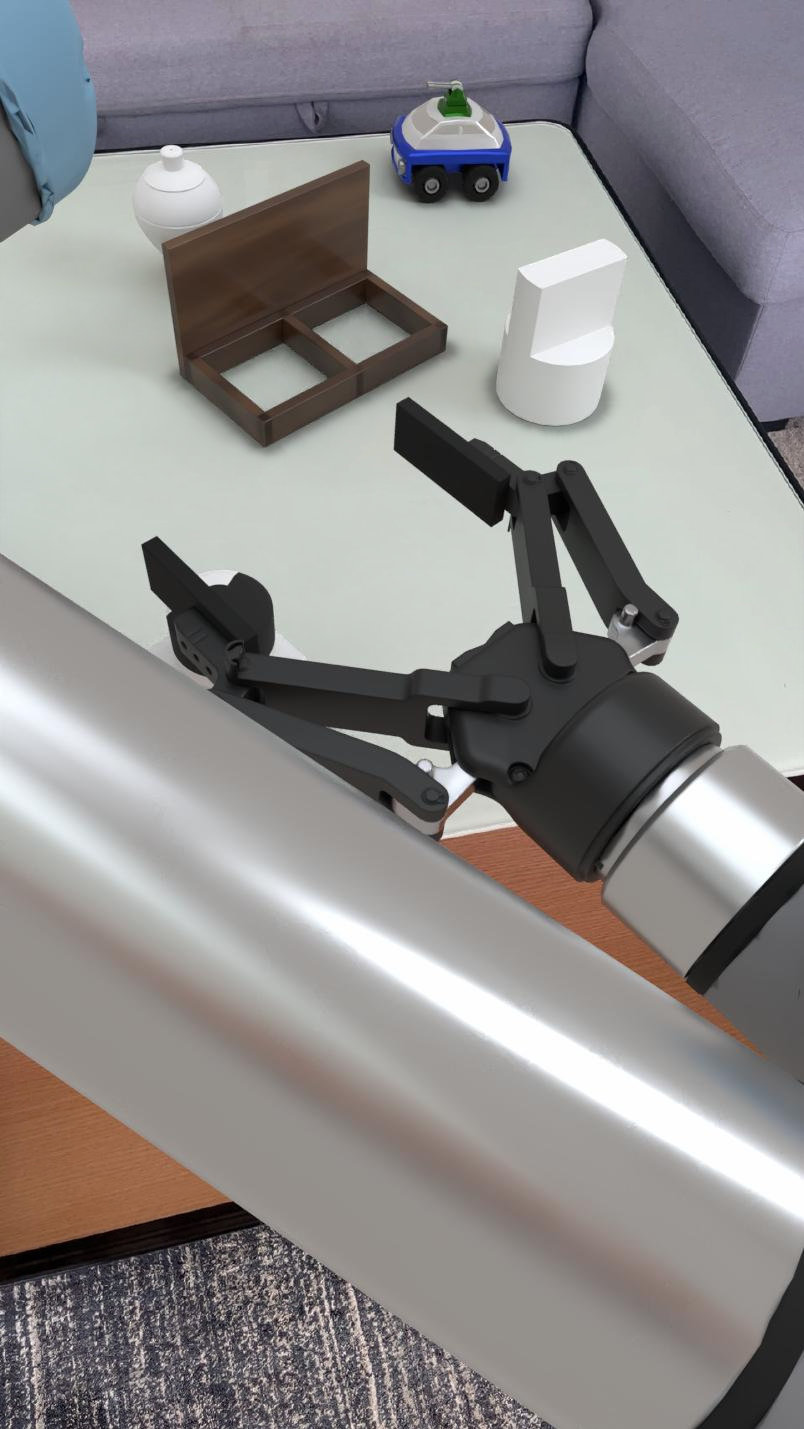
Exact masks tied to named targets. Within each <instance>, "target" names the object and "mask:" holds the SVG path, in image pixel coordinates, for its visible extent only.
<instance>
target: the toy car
mask: <svg viewBox="0 0 804 1429" xmlns="http://www.w3.org/2000/svg"><path fill="white" fill-rule="evenodd" d="M425 85H426V87H427V90H435V89H439V90H442V89H444V92H443V96H437V97H432V98H431V99H429V100H427V101H425V102H424V103H423V104H420V105H419V106H417V107H416V108H414V109H412V110H411V111H410V113H408V114H399V115H397V116H396V118H395V120H394V122H393V125H392V127H390V129H389V142H390V145H392V147H391V150H390V158H391V163H392V167H393V169H394V171H395V173H396V174H397V175H398V177H399V178H400V179H401V180H402V181H403V183H404V184H411V181H412V184H413V188H414V191H415V192H414V193H415V195H416V196H417V197H418V199H419V200H420V201H423V202H425V203H435V202H438V201H440V200H441V199H443V198H444V197H445V196H446V195H447V192H448V191H449V187H450V180H449V178H448V177H449V176H448V174H450V173H453V174H454V173H456V174H460V176H461V181H462V185H463V187H464V191H465V193H466V195H467V197H468V198H469V199H470V200H472V201H475V202H484V201H487V200H490V199H491V198H492V197H493V196H495V195H496V193H497V192H498V190H499V186H500V179H501V182H508V177H509V172H510V160H511V156H512V151H513V145H512V142H511V137H510V133H509V132H508V130H507V129H506V126H505V124H503V123H502V121H500V120H499V119H498V117H497V116H496V115H495V114H494V113H490V112H488V111H487V110H486V109H485V108H483V107H482V106H480V105H479V104H478V102H476V101H474V100H473V99H471V98H470V97H467V94H466V92H465V91H464V86H463V84H462V82H461V81H460V80H459V79H457V78H454V79H450V80H449V82H445V81H434V80H426V84H425ZM497 170H498V172H497ZM498 173H499V174H498ZM499 177H500V179H499Z"/></svg>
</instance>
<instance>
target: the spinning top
mask: <svg viewBox="0 0 804 1429" xmlns="http://www.w3.org/2000/svg"><path fill="white" fill-rule="evenodd" d="M159 155H160V160H158V161H155V162H154V163H152V164H150V165H148V166H147V167H146V168H145V170H144V171H143V173H142V175H140V177H139V179H138V180H137V182H136V184H135V186H134V190H133V193H132V209H133V210H132V211H133V212H134V217H135V220H136V222H137V225H138V226H139V227H140V229H141V231H142V233H143V234H144V235H145V236H146V238H147V239H148V241H149V242H150V243H151V245H153V247H154V248H155V249H157V251H158V252H159V253H160V254H161V255H162V256H163V252H162V245H161V244H162V243H163V242H166V241H168V240H171V239H173V238H175V237H178V236H180V235H183V234H185V233H187V232H190V231H192V230H195V229H197V228H200V227H202V226H204V225H207V224H209V223H212V222H214V221H216V220H219V219H221V218H223V216H224V215H223V214H224V201H223V197H222V193H221V190H220V188H219V186H218V184H217V183H216V182H215V180H214V179H213V177H212V176H211V175H210V174H209V173H208V172H207V171H206V170H204V168H203V167H202V166H201V165H200V164H198V163H196V162H194V161H191V160H188V159H186V158H185V159H184V150H183V148H182V147H181V146H179V145H174V144H169V145H168V144H167V145H165V146H163V147H162V148H160V150H159Z"/></svg>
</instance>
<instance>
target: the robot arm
mask: <svg viewBox="0 0 804 1429" xmlns="http://www.w3.org/2000/svg"><path fill="white" fill-rule="evenodd" d="M84 41H85V40H84V38H83V35H82V33H81V30H80V25H79V23H78V21H77V18H76V15H75V12H74V10H73V7H72V5H71V2H70V1H69V0H0V244H1V243H3V242H4V241H6V240H7V239H9V238H10V237H12V236H13V235H15V234H16V233H17V232H19V231H21V230H22V229H23V228H25V227H26V226H27V225H31V226H33V227H36V226H39V225H41V224H44V223H45V222H48V220H49V219H50V218H51V217H52V215H53V213H54V209H55V206H56V205H57V204H58V203H60V202H61V201H63V200H64V199H66V197H68V196H69V195H70V194H72V193H73V192H74V191H75V190H76V189H77V188H78V187H79V185H81V183H82V182H83V180H84V179H85V177H86V175H87V174H88V172H89V169H90V167H91V164H92V161H93V159H94V158H93V157H94V154H95V150H96V149H95V148H96V143H97V136H98V134H97V133H98V112H97V110H98V108H97V98H96V91H95V86H94V83H93V78H92V76H91V74H90V71H89V69H88V67H87V64H86V63H87V62H86V60H85V57H84V48H85V46H84V45H85V44H84ZM393 451H394V452H395V453H396V454H398V455H399V456H400V457H402V458H403V459H404V460H405V461H407V463H409V464H410V465H412V466H413V467H414V468H416V470H418V471H419V472H420V473H422V474H423V475H424V476H425V477H427V478H428V479H429V480H430V481H431V482H433V483H434V484H435V485H437V486H438V487H439V488H441V489H442V490H443V491H444V492H446V494H448V495H449V496H451V497H452V498H453V499H454V500H456V501H457V502H458V503H459V504H461V505H462V506H463V507H465V508H466V509H467V510H468V511H470V512H471V513H472V514H473V515H475V516H476V517H477V518H478V519H480V520H481V521H482V522H483V523H485V525H487V526H488V527H490V528H493V527H494V526H496V525H498V524H499V523H501V522H502V521H504V517H505V511H506V512H507V513H508V514H509V520H508V525H507V533H511V542H512V549H513V559H514V565H515V566H514V567H515V574H516V581H517V589H518V597H519V602H520V603H519V605H520V610H521V611H520V612H521V620H522V622H520V623H515V624H514V623H512V622H511V621H510V620H507V621H506V622H505V623H503V624H502V625H500V626H499V627H498V628H496V629H495V630H494V631H493V632H492V634H491V635H490V636H489V638H488V639H487V640H486V641H485V643H483V644H481V645H478V646H475V647H473V648H470V649H468V650H465V651H463V653H461V654H460V655H458V656H457V657H456V658H454V659H453V660H451V663H450V669H449V671H448V670H447V671H446V670H438V669H432V668H417V669H415V670H413V671H412V672H410V673H400V672H395V671H386V670H377V669H371V668H364V667H357V666H349V665H341V664H334V663H328V662H327V663H326V662H320V661H313V660H308V661H306V660H298V659H291V658H284V657H276V656H269V655H262V654H260V650H259V639H258V633H257V632H256V631H255V630H254V629H253V628H252V627H251V626H250V625H249V624H248V623H247V622H246V621H245V620H244V619H242V618H241V617H240V616H239V615H238V614H237V613H236V612H235V611H234V610H233V609H232V608H231V607H230V606H229V605H228V604H227V603H226V602H225V601H224V600H223V599H222V598H221V597H220V596H219V595H218V594H217V593H216V592H215V591H214V590H213V589H211V588H210V587H209V586H208V585H207V584H206V583H205V582H204V581H203V580H202V579H201V578H200V577H199V576H198V575H197V573H196V572H195V571H194V570H193V568H191V567H190V566H189V565H188V564H187V563H186V562H185V561H184V560H183V559H182V558H181V557H180V556H178V554H177V553H175V551H173V549H171V547H169V545H168V544H166V543H165V542H164V541H163V540H162V539H161V538H160V537H159V536H158V535H156V536H155V535H154V537H152V538H150V539H148V540H146V541H144V542H142V543H141V544H140V547H141V551H142V555H143V560H144V566H145V570H146V575H147V579H148V583H149V588H150V591H151V592H152V593H153V594H154V595H155V596H156V597H157V598H158V599H159V600H160V601H161V602H162V603H163V604H164V605H165V606H166V608H167V607H168V608H169V609H170V610H171V611H172V612H173V613H174V614H175V615H176V617H174V618H173V619H174V624H175V629H176V635H177V640H178V643H179V646H180V649H181V652H182V653H183V654H184V655H185V656H186V657H187V658H188V659H190V661H191V662H192V663H193V664H194V665H196V667H197V668H198V669H199V670H200V671H201V672H202V673H203V674H204V675H205V676H206V677H207V678H208V679H209V680H210V681H211V682H212V683H213V684H214V686H213V687H212V688H211V689H205V688H204V687H202V686H201V685H199V684H198V683H196V682H195V681H193V680H192V679H190V678H188V677H187V676H185V675H184V674H182V673H181V672H179V671H178V670H176V669H175V668H173V667H172V666H170V665H169V664H167V663H166V662H164V661H163V660H161V659H160V658H158V657H157V656H155V655H154V654H152V653H151V652H149V651H148V650H147V649H146V648H144V647H143V646H142V645H140V644H139V643H137V642H136V641H134V640H132V639H131V638H129V637H128V636H127V635H125V634H124V633H122V632H120V631H119V630H117V629H116V628H115V627H113V626H112V625H110V624H108V623H107V622H105V621H104V620H102V619H101V618H99V617H98V616H96V615H95V614H93V613H92V612H91V611H90V610H89V611H88V609H86V608H84V607H83V606H81V605H79V604H78V603H76V602H75V601H74V600H72V599H71V598H69V597H67V596H66V595H64V594H63V593H61V592H60V591H58V590H57V589H55V588H54V587H52V585H50V584H47V583H46V582H45V581H44V580H42V579H41V578H39V577H37V576H36V575H34V574H33V573H31V572H30V571H28V570H27V569H25V568H24V567H22V566H20V565H19V564H17V563H16V562H15V561H13V560H12V559H10V558H8V557H7V556H6V555H4V554H2V553H1V552H0V1038H1V1039H3V1041H5V1042H6V1043H8V1044H9V1045H11V1046H12V1047H14V1048H15V1049H17V1050H18V1051H19V1052H21V1053H22V1054H24V1055H25V1056H26V1057H28V1058H29V1059H31V1060H32V1061H33V1062H35V1063H37V1064H38V1065H39V1066H41V1067H42V1068H44V1069H45V1070H47V1071H48V1072H49V1073H50V1074H52V1075H53V1076H55V1077H56V1078H58V1079H59V1080H61V1081H63V1082H64V1083H65V1084H66V1085H67V1086H69V1087H71V1088H72V1089H74V1090H75V1091H76V1092H77V1093H79V1094H80V1095H81V1096H83V1097H85V1098H86V1099H87V1100H89V1101H90V1102H92V1103H93V1104H94V1105H96V1106H98V1107H99V1108H101V1110H103V1111H104V1112H106V1113H108V1114H109V1115H110V1116H112V1117H113V1118H114V1119H116V1120H117V1121H119V1122H120V1123H122V1125H124V1126H126V1127H127V1128H129V1129H130V1130H132V1131H133V1132H134V1133H136V1134H137V1135H139V1136H140V1137H141V1138H142V1139H144V1140H146V1141H147V1142H148V1143H150V1144H152V1145H153V1147H156V1148H157V1149H159V1150H160V1151H162V1152H163V1153H164V1154H166V1155H167V1156H168V1157H170V1158H171V1159H173V1160H174V1161H176V1162H177V1163H179V1164H180V1165H181V1166H182V1167H184V1168H185V1169H187V1170H188V1171H190V1172H191V1173H192V1174H194V1175H196V1176H197V1177H198V1178H199V1179H201V1180H202V1181H204V1182H205V1183H207V1184H208V1185H210V1186H211V1187H212V1188H214V1189H215V1190H216V1191H217V1192H220V1193H221V1194H222V1195H224V1196H225V1197H226V1198H228V1199H229V1200H231V1201H232V1202H234V1203H235V1204H237V1205H238V1206H239V1207H241V1208H242V1209H243V1210H245V1211H246V1212H248V1214H251V1215H253V1216H254V1217H255V1218H256V1219H258V1220H259V1221H261V1222H262V1223H264V1224H265V1225H266V1226H268V1227H269V1228H271V1229H272V1230H273V1231H274V1232H276V1233H278V1235H280V1236H282V1237H283V1238H285V1239H286V1240H288V1241H289V1242H290V1243H292V1244H293V1245H294V1246H296V1247H298V1248H299V1249H300V1250H302V1251H303V1252H304V1253H306V1254H307V1255H309V1256H310V1257H312V1258H313V1259H315V1260H316V1261H317V1262H319V1263H320V1264H322V1265H323V1266H325V1267H326V1268H327V1269H328V1270H330V1271H332V1273H334V1274H336V1275H338V1276H339V1277H340V1278H341V1279H342V1280H344V1281H346V1282H347V1283H349V1284H350V1285H352V1286H353V1287H354V1288H356V1289H357V1290H358V1291H360V1292H361V1293H363V1294H364V1295H365V1296H367V1297H368V1298H369V1299H371V1300H372V1301H374V1302H375V1303H377V1304H379V1305H380V1306H382V1308H384V1309H385V1310H387V1311H388V1312H390V1313H391V1314H393V1315H394V1316H396V1317H397V1318H398V1319H400V1320H401V1321H402V1322H404V1323H405V1324H407V1325H408V1326H410V1327H411V1328H412V1329H414V1330H415V1331H416V1332H418V1333H420V1334H421V1335H422V1336H423V1337H426V1338H427V1339H428V1340H429V1341H430V1342H432V1343H434V1344H435V1345H437V1346H438V1347H439V1348H441V1349H442V1350H443V1351H445V1352H447V1353H448V1354H450V1355H451V1356H452V1357H454V1358H455V1359H456V1360H458V1361H459V1362H461V1363H462V1364H463V1365H465V1366H466V1367H468V1368H469V1369H471V1370H472V1371H473V1372H475V1373H477V1375H479V1376H480V1377H482V1378H483V1379H484V1380H486V1381H488V1382H489V1383H490V1384H492V1385H494V1387H496V1388H498V1389H499V1390H501V1391H502V1392H503V1393H504V1394H506V1395H507V1396H509V1397H510V1398H512V1399H513V1400H514V1401H516V1402H518V1403H519V1404H520V1405H522V1406H523V1407H525V1408H526V1409H527V1410H529V1411H530V1412H532V1413H533V1414H534V1415H536V1416H537V1417H538V1418H540V1419H542V1420H543V1421H544V1422H546V1423H547V1424H549V1425H550V1426H552V1427H553V1428H554V1429H804V791H803V790H802V789H801V788H800V787H799V786H797V785H796V784H795V783H794V782H792V781H791V780H790V779H788V778H787V777H786V776H785V775H784V774H783V773H782V772H781V771H779V770H777V769H776V767H774V765H772V764H770V763H769V762H768V761H767V760H766V759H764V758H763V757H762V756H761V755H759V754H758V753H757V752H756V751H755V750H753V749H752V748H751V747H750V746H748V745H747V744H737V745H729V746H727V747H725V748H724V749H723V748H721V745H722V742H723V735H722V733H721V732H720V730H721V728H720V724H719V723H718V722H716V721H715V720H714V719H712V717H710V716H709V715H708V714H706V713H705V712H704V711H703V710H702V709H700V708H699V707H698V706H696V705H695V704H694V703H693V702H692V701H690V700H689V699H688V698H686V697H685V696H684V695H683V694H682V693H680V692H679V691H678V690H676V689H675V688H674V687H673V686H672V685H670V684H669V683H668V682H667V681H666V680H664V679H663V678H662V677H660V675H658V674H656V673H654V672H651V671H638V670H637V669H636V668H635V667H636V666H638V665H640V664H642V665H643V666H647V667H656V666H658V665H660V664H661V663H662V662H663V660H664V658H665V656H666V653H667V651H668V649H669V646H670V644H671V641H672V638H673V636H674V634H675V632H676V629H677V627H678V624H679V622H680V616H679V613H678V612H677V611H676V610H675V609H674V607H672V606H671V605H670V604H669V603H668V602H667V601H666V600H664V598H662V597H661V596H660V595H659V594H658V593H657V592H656V591H655V590H653V588H651V586H649V585H648V583H646V581H645V579H644V577H643V576H642V574H641V572H640V570H639V568H638V567H637V565H636V562H635V560H634V559H633V557H632V554H630V551H629V550H628V548H627V545H626V544H625V542H624V540H623V538H622V537H621V535H620V532H619V531H618V529H617V527H616V525H615V524H614V521H613V520H612V518H611V516H610V514H609V512H608V511H607V509H606V507H605V505H604V503H603V501H602V499H601V497H600V496H599V493H598V492H597V490H596V488H595V486H594V484H593V482H592V480H591V479H590V477H589V475H588V473H587V471H586V470H585V467H584V466H583V465H582V464H581V463H579V462H578V461H576V460H572V459H565V460H561V461H559V463H557V466H556V468H555V469H556V470H553V471H550V472H549V471H548V472H545V473H540V472H539V471H536V470H532V469H528V470H526V469H525V470H524V469H522V468H521V467H520V466H518V465H517V464H515V463H514V462H513V461H512V460H510V459H509V458H507V456H505V455H504V454H501V452H500V451H498V450H497V449H495V448H494V447H493V446H492V445H491V444H489V443H488V442H487V441H484V440H481V439H479V438H476V437H473V438H472V439H470V440H469V441H468V440H467V439H466V438H464V437H462V435H460V434H458V433H457V432H456V431H455V430H453V429H452V428H451V427H450V426H448V425H447V424H445V423H444V422H443V421H442V420H440V419H439V418H437V417H436V416H435V415H434V414H432V413H431V412H430V411H429V410H427V409H426V408H425V407H423V406H422V405H421V404H419V403H417V401H416V400H414V399H413V398H412V397H410V396H406V397H405V398H404V399H402V400H400V401H398V402H396V403H395V418H394V434H393ZM553 525H554V526H555V529H556V531H557V532H558V535H559V537H560V538H561V541H562V543H563V545H564V548H565V549H566V550H567V553H568V555H569V557H570V559H571V560H572V563H573V565H574V567H575V569H576V571H577V573H578V575H579V577H580V579H581V581H582V583H583V585H584V588H585V589H586V591H587V593H588V595H589V598H590V599H591V601H592V603H593V605H594V607H595V609H596V611H597V613H598V616H599V617H600V619H601V621H602V623H603V624H604V626H605V628H606V629H607V634H606V635H607V637H606V636H602V635H597V634H592V633H587V632H581V631H576V630H574V629H573V623H572V617H571V611H570V605H569V599H568V592H567V588H566V587H565V586H563V584H562V578H561V572H560V565H559V558H558V552H557V545H556V540H555V534H554V528H553ZM432 706H440V707H441V708H442V715H443V716H438V715H433V714H431V713H430V712H429V708H430V707H432ZM335 729H339V730H347V731H353V732H360V733H367V734H375V735H376V734H377V735H382V736H383V735H384V736H389V737H396V738H400V739H403V741H404V742H405V743H406V744H408V745H410V746H412V747H417V748H424V749H432V750H437V751H439V750H440V751H445V752H449V757H450V764H451V765H450V766H443V767H442V766H437V765H434V764H433V762H432V761H431V760H430V759H428V758H421V759H419V760H418V761H417V762H416V763H414V762H413V761H411V760H410V759H408V758H406V757H405V756H402V755H401V754H399V753H397V752H395V751H393V750H391V749H388V748H385V747H383V746H381V745H377V744H375V743H372V742H369V741H366V740H364V739H360V738H358V737H355V736H352V735H349V734H346V733H344V732H341V731H339V730H335ZM473 794H477V795H480V796H483V797H486V798H488V799H491V800H492V801H494V802H496V803H497V804H499V805H500V806H501V807H502V808H503V809H504V810H505V811H506V813H507V814H508V815H509V817H510V818H511V819H512V820H513V821H514V823H515V824H516V826H518V827H519V829H520V830H521V831H522V832H523V833H524V834H525V835H527V836H528V837H529V838H530V840H532V841H533V842H534V843H535V844H536V845H537V846H538V847H539V848H540V849H541V850H543V851H544V852H545V853H546V854H547V855H548V856H549V857H550V858H551V859H552V860H553V861H554V862H555V863H557V864H558V866H560V867H561V868H562V869H563V871H565V872H566V873H567V874H568V875H569V876H570V877H571V878H572V879H573V880H575V881H576V882H577V883H584V882H585V883H586V884H593V883H596V882H598V881H601V883H602V884H601V888H600V904H601V905H602V906H603V907H604V908H605V909H606V910H607V911H608V912H610V913H611V914H612V915H613V916H614V917H615V918H616V919H617V920H618V921H620V922H621V923H622V924H623V925H624V927H626V928H627V929H628V930H629V932H631V933H632V934H633V935H634V936H636V937H637V939H639V940H640V942H642V943H643V944H644V945H645V946H646V947H647V948H648V949H649V950H650V951H652V952H653V953H654V954H655V955H656V956H657V957H658V958H659V959H660V960H661V961H662V962H663V963H665V965H667V967H669V968H670V969H671V970H672V971H673V972H674V973H675V974H676V975H677V976H678V977H680V978H681V979H682V981H685V983H686V984H687V985H688V986H689V987H690V988H691V989H692V990H693V991H695V993H697V994H698V995H701V996H702V998H704V999H705V1000H706V1001H707V1002H708V1003H709V1004H711V1006H712V1007H713V1008H714V1009H716V1010H717V1012H719V1013H720V1014H721V1015H722V1016H723V1017H724V1018H725V1019H726V1020H727V1021H728V1022H729V1023H730V1024H731V1025H732V1026H733V1027H734V1028H735V1029H736V1030H737V1031H738V1032H739V1033H740V1034H742V1036H743V1037H744V1038H745V1039H747V1040H748V1041H749V1042H750V1043H751V1044H752V1045H753V1046H754V1048H756V1049H757V1050H758V1051H759V1052H760V1054H759V1053H757V1052H756V1051H755V1050H753V1049H752V1048H750V1047H748V1045H746V1044H744V1043H742V1042H741V1041H739V1040H738V1039H736V1038H735V1037H734V1036H732V1035H731V1034H729V1033H727V1032H726V1031H724V1030H723V1029H721V1028H720V1027H718V1026H717V1025H716V1024H714V1023H712V1022H711V1021H709V1020H708V1019H706V1018H705V1017H703V1016H701V1015H700V1014H699V1013H697V1012H696V1011H694V1010H692V1009H691V1008H690V1007H688V1006H686V1005H685V1004H683V1003H682V1002H680V1001H679V1000H678V999H676V998H674V997H673V996H671V994H668V993H667V992H665V991H664V990H663V989H661V988H660V987H658V986H656V985H655V984H654V983H652V982H650V981H649V980H647V979H646V978H644V977H642V976H641V975H640V974H638V973H636V971H634V970H632V969H630V968H629V967H628V966H626V965H624V964H623V963H621V962H620V961H619V960H617V959H615V958H614V957H612V956H611V955H609V954H608V953H606V952H605V951H604V950H602V949H600V948H599V947H597V946H595V945H594V944H593V943H591V942H590V941H588V940H587V939H586V938H584V937H582V936H580V935H579V934H578V933H576V932H574V930H571V929H570V928H568V927H567V926H565V925H564V924H562V923H561V922H560V921H558V920H556V919H555V918H554V917H552V916H550V915H549V914H547V913H546V912H545V911H542V909H540V908H538V907H536V906H535V905H534V904H532V903H531V902H529V901H528V900H526V899H525V898H523V897H521V896H520V895H519V894H517V893H516V892H514V891H512V890H511V889H510V888H508V887H506V886H505V885H503V884H501V883H500V882H499V881H497V880H495V878H493V877H491V876H490V875H488V874H487V873H486V872H484V871H482V870H481V869H479V868H477V867H476V866H474V865H473V864H471V863H470V862H468V861H467V860H466V859H464V858H462V857H461V856H460V855H458V854H457V853H455V852H453V851H452V850H451V849H449V848H448V847H446V846H445V845H443V844H442V843H440V841H441V839H442V838H443V836H444V830H445V825H446V821H447V820H448V819H449V817H451V816H452V815H453V814H454V813H455V811H456V810H457V809H459V808H460V807H461V806H462V805H463V804H464V803H465V802H466V801H467V800H468V799H469V797H470V796H471V795H473ZM761 1054H762V1055H761ZM763 1056H764V1057H763Z"/></svg>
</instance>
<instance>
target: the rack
mask: <svg viewBox="0 0 804 1429" xmlns="http://www.w3.org/2000/svg"><path fill="white" fill-rule="evenodd" d="M370 178H371V164H370V163H369V162H367V161H366V160H364V159H360V160H359V161H356V162H354V163H351V164H348V165H345V166H344V167H341V168H339V169H337V170H334V171H332V172H330V173H326V174H325V175H321V176H319V177H318V178H315V179H313V180H310V181H307V182H305V183H302V184H301V185H298V186H296V187H293V188H291V189H288V190H286V191H283V192H281V193H278V194H277V195H274V196H271V197H269V198H266V199H264V200H262V201H259V202H258V203H255V204H252V205H250V206H248V207H245V208H243V209H240V210H237V211H236V212H233V213H231V214H228V215H226V216H224V217H222V218H221V219H219V220H216V221H214V222H212V223H209V224H207V225H204V226H202V227H200V228H197V229H195V230H192V231H190V232H187V233H185V234H183V235H180V236H178V237H175V238H173V239H171V240H168V241H166V242H163V243H162V244H161V245H162V252H163V255H162V258H163V259H162V260H163V266H164V270H165V271H164V273H165V279H166V285H167V294H168V300H169V306H170V307H169V308H170V314H171V321H172V322H171V323H172V328H173V334H174V342H175V349H176V355H177V356H176V357H177V361H178V363H177V364H178V370H179V375H180V377H182V378H183V379H184V380H185V381H187V382H188V383H189V384H190V385H191V386H192V387H193V388H195V389H196V390H197V391H198V392H200V393H201V395H203V396H204V397H206V399H208V400H209V401H210V402H211V403H213V404H214V406H216V407H217V408H218V409H219V410H221V412H223V413H224V414H225V415H227V416H228V417H229V418H230V419H231V420H232V421H233V422H234V423H236V424H237V425H238V426H240V428H242V429H243V430H244V431H245V432H246V433H248V435H250V436H251V437H252V438H253V439H255V440H256V441H257V442H258V443H259V444H260V445H261V446H263V448H266V447H268V446H271V445H272V444H274V443H276V442H278V441H280V440H281V439H283V438H285V437H287V436H289V435H290V434H292V433H294V432H296V431H298V430H300V429H302V428H304V427H305V426H307V425H309V424H311V423H313V422H314V421H316V420H318V419H320V418H322V417H324V416H326V415H328V414H329V413H331V412H333V411H336V410H338V409H339V408H340V407H342V406H344V405H347V404H348V403H350V402H352V401H354V400H355V399H358V398H360V397H361V396H364V395H365V394H366V393H368V392H370V391H373V390H374V389H376V388H377V387H380V386H381V385H383V384H386V383H387V382H389V381H390V380H393V379H395V378H396V377H398V376H400V375H402V374H404V373H406V372H408V371H410V370H412V369H413V368H415V367H417V366H419V365H420V364H422V363H425V362H426V361H428V360H430V359H432V358H434V357H436V356H437V355H439V354H441V353H443V352H444V351H445V352H446V350H447V341H448V331H449V325H448V324H446V323H445V322H444V321H442V320H440V319H439V318H438V317H436V316H435V315H433V314H432V313H431V312H429V310H426V309H425V308H424V307H422V306H421V305H419V304H418V303H416V302H415V301H413V300H412V299H411V298H410V297H408V296H407V295H405V294H404V293H402V292H401V291H399V290H398V289H396V288H395V287H394V286H392V285H391V284H390V283H388V282H387V281H385V280H384V279H382V278H381V277H380V276H378V275H377V274H375V273H374V272H372V270H369V269H368V259H369V258H368V255H369V254H368V253H369V252H368V251H369V221H370V220H369V219H370V217H369V215H370V188H371V186H370V182H371V179H370ZM365 303H366V304H367V305H369V306H371V307H372V308H373V309H375V310H376V311H377V312H378V313H380V314H381V315H382V316H384V317H385V318H387V319H389V321H391V322H392V323H393V324H395V325H397V326H398V327H399V328H400V329H402V330H404V331H405V332H406V333H408V334H409V336H407V337H406V338H403V339H402V340H400V341H398V342H396V343H394V344H392V345H390V346H388V347H386V348H384V349H382V350H380V351H379V352H377V353H374V354H372V355H371V356H369V357H367V358H365V359H364V360H361V361H360V362H358V363H356V362H355V361H354V360H352V359H351V358H350V357H348V356H347V355H345V354H344V353H343V352H342V351H341V350H339V349H337V348H336V347H335V346H334V345H333V344H331V343H330V342H329V341H327V340H326V339H325V338H323V337H322V336H320V335H319V334H318V333H316V331H314V330H312V329H315V328H317V327H318V326H320V325H322V324H324V323H326V322H329V321H331V320H333V319H335V318H337V317H339V316H341V315H342V314H344V313H347V312H350V311H351V310H353V309H355V308H357V307H359V306H361V305H363V304H365ZM282 344H285V345H286V346H287V347H289V349H291V350H293V351H294V352H295V353H296V354H298V355H299V356H300V357H301V358H303V359H304V360H305V361H307V362H308V364H310V365H311V366H313V367H314V368H315V369H316V370H318V371H319V372H321V373H322V374H323V375H325V377H327V379H325V380H323V381H321V382H319V383H317V384H316V385H313V386H312V387H310V388H308V389H305V390H304V391H302V392H300V393H298V394H296V395H294V396H292V397H290V398H289V399H286V400H285V401H283V402H281V403H279V404H277V405H275V406H273V407H271V408H269V409H267V410H266V411H265V410H264V409H262V407H261V406H259V405H258V404H257V403H256V402H254V401H253V400H251V399H250V398H249V397H248V396H247V395H246V394H245V393H243V392H242V391H241V390H240V389H238V388H237V387H236V386H235V384H233V383H232V382H230V381H229V380H228V379H227V378H226V377H225V376H223V375H222V373H223V374H224V373H225V372H226V371H229V370H231V369H233V368H235V367H237V366H239V365H241V364H243V363H245V362H247V361H249V360H251V359H254V358H255V357H257V356H259V355H261V354H264V353H265V352H267V351H269V350H272V349H273V348H275V347H278V346H279V345H282Z"/></svg>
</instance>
